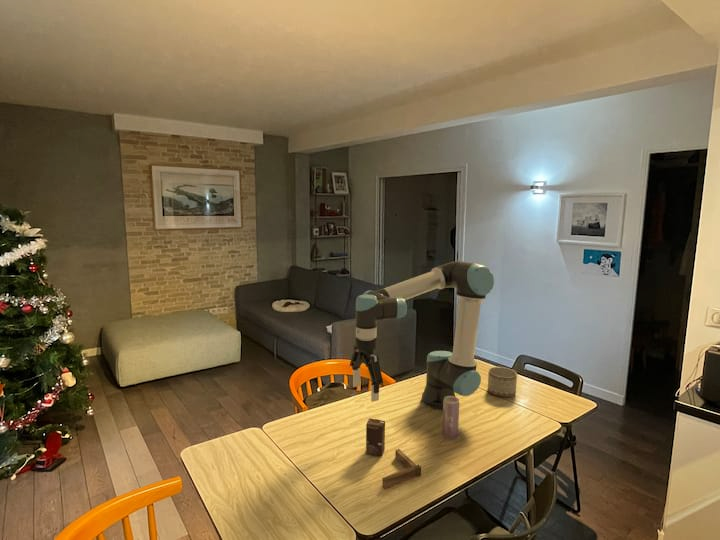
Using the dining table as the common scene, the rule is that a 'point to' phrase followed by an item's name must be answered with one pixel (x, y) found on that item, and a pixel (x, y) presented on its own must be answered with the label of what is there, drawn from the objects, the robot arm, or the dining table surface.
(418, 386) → the dining table surface
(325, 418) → the dining table surface
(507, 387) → the planter
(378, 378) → the robot arm
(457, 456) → the dining table surface
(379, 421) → the box
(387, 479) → the corner fence
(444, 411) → the beverage can
